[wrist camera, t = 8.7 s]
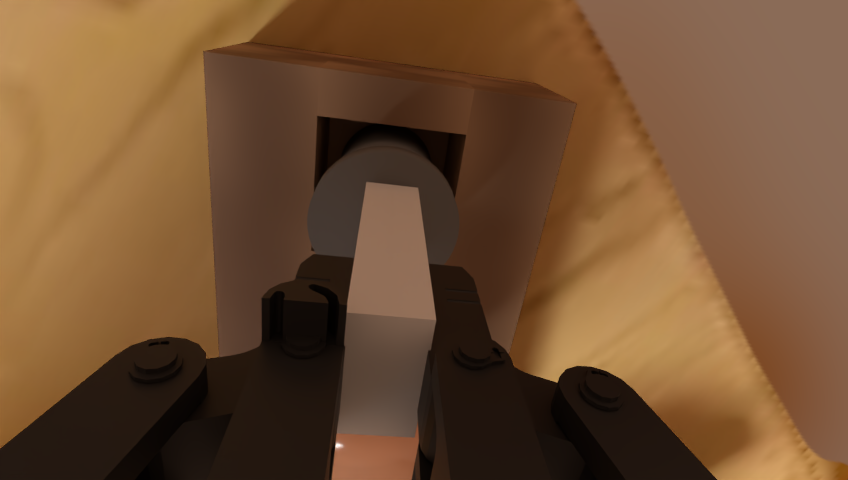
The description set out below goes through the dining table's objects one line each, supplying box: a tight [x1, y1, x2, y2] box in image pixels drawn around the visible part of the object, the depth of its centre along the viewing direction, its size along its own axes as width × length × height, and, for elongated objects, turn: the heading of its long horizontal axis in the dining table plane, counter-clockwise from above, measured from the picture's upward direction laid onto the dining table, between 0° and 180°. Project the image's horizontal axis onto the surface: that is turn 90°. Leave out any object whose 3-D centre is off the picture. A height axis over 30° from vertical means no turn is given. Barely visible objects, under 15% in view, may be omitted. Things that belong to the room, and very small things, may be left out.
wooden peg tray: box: [203, 42, 576, 357], centre depth 22 cm, size 12×22×5 cm, turn 172°
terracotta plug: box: [332, 422, 419, 480], centre depth 18 cm, size 5×5×6 cm
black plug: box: [307, 123, 459, 265], centre depth 17 cm, size 5×5×6 cm
